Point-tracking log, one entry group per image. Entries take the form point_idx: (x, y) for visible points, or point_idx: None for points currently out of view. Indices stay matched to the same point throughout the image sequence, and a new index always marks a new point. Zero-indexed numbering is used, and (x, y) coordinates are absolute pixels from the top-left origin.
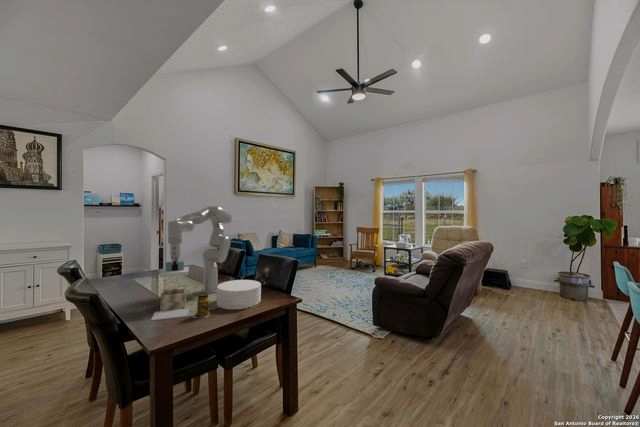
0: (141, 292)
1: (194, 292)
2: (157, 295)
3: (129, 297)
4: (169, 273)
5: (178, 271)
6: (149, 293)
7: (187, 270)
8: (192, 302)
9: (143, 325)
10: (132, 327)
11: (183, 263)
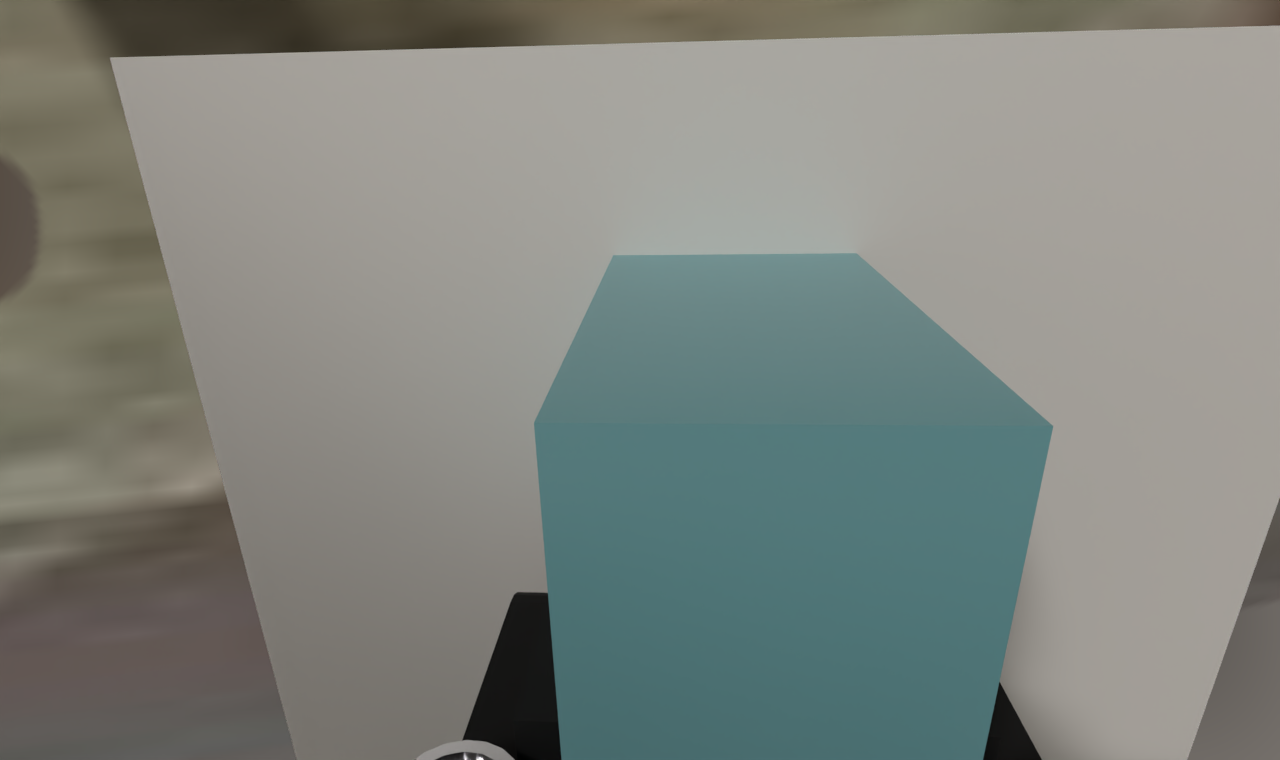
0: (62, 669)
1: (82, 25)
2: (197, 509)
3: (242, 741)
4: (1191, 708)
5: (1109, 454)
6: (106, 595)
7: (1120, 49)
8: (627, 23)
9: (1274, 519)
10: (1266, 601)
11: (976, 391)
